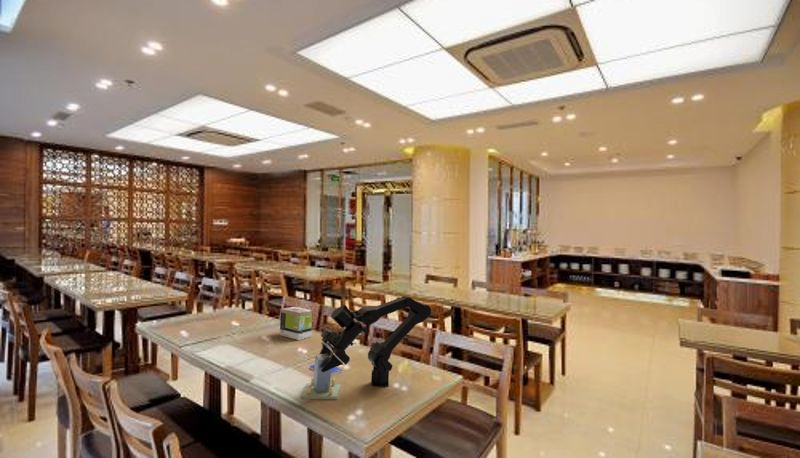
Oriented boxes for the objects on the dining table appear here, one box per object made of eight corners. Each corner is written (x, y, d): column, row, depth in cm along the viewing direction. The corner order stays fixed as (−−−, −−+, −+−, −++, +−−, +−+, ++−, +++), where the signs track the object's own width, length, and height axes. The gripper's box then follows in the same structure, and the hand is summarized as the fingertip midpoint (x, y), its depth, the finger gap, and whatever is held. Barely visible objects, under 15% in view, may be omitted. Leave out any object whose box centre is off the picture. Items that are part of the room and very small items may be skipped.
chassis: (340, 386, 151) (340, 377, 151) (337, 399, 140) (337, 389, 140) (306, 385, 150) (306, 376, 150) (300, 398, 140) (301, 388, 139)
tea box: (312, 336, 214) (313, 309, 214) (298, 340, 206) (299, 312, 205) (292, 331, 222) (294, 305, 222) (278, 335, 214) (280, 308, 213)
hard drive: (342, 369, 166) (325, 361, 175) (326, 374, 160) (309, 365, 169) (342, 373, 166) (325, 365, 175) (326, 378, 160) (309, 369, 169)
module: (326, 386, 149) (328, 353, 148) (329, 391, 144) (331, 357, 144) (313, 387, 147) (315, 354, 146) (316, 393, 142) (317, 358, 142)
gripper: (327, 315, 155) (298, 345, 150) (342, 327, 138) (310, 362, 134) (345, 333, 159) (317, 363, 154) (362, 347, 142) (331, 381, 137)
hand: (318, 367), depth 145 cm, fingers open, 8 cm apart
